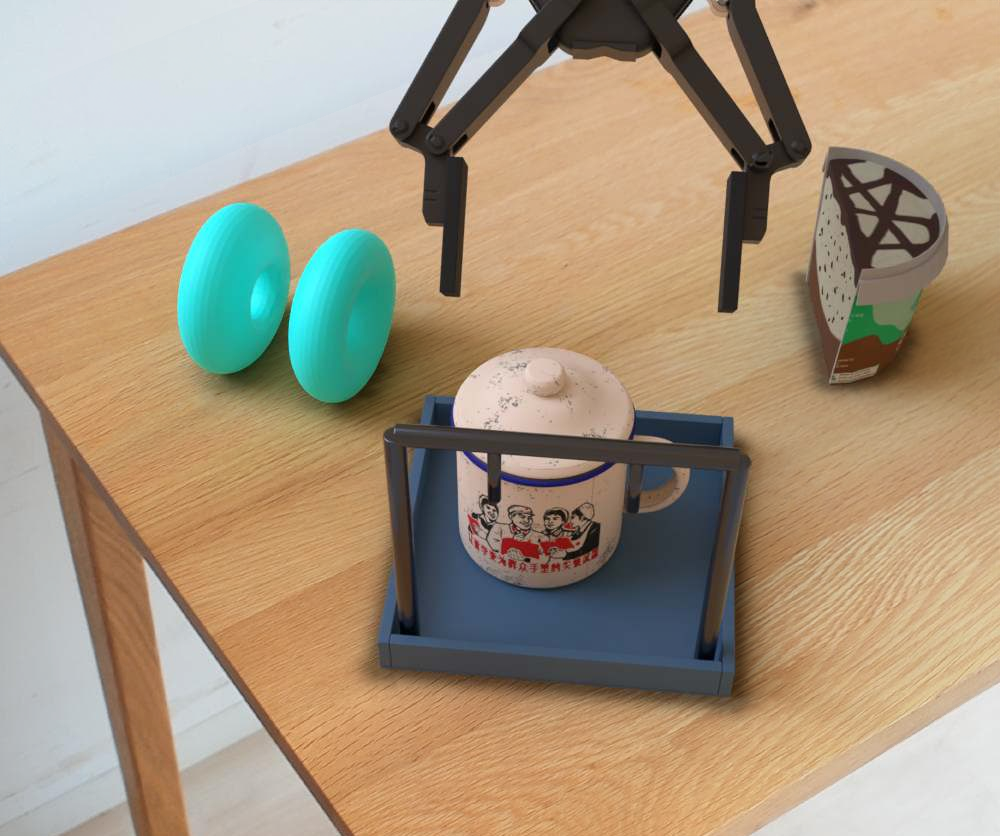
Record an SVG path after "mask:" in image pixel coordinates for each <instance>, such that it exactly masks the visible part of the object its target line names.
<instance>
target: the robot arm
mask: <svg viewBox="0 0 1000 836" xmlns="http://www.w3.org/2000/svg"><path fill="white" fill-rule="evenodd" d="M506 1H507V0H457V1H456V3H455V4H454V5H453V8H452V10H451V11H450V13H449V15H448V17H447V19H446V20H445V22H444V24H443V26H442V27H441V29H440V31H439V33H438V35H437V36H436V38H435V40H434V42H433V43H432V45H431V47H430V48H429V51H428V53H427V54H426V55H425V58H424V59H423V62H422V63H421V65H420V67H419V69H418V71H417V72H416V74H415V75H414V78H413V79H412V81H411V83H410V85H409V87H408V88H407V90H406V92H405V93H404V95H403V97H402V99H401V101H400V102H399V104H398V106H397V108H396V110H395V111H394V113H393V115H392V116H391V118H390V121H389V124H388V130H389V132H390V134H391V136H392V137H393V138H394V140H395V141H396V142H397V144H398V145H399V146H401V148H405V149H409V150H411V151H413V152H416V153H418V154H420V155H422V157H423V159H424V174H423V190H422V191H423V192H422V204H421V205H422V207H421V214H422V216H423V219H424V222H425V224H426V225H427V226H428V227H437V228H438V227H439V228H440V227H441V228H442V239H441V240H442V243H441V258H440V273H439V275H440V276H439V291H438V292H439V293H440V294H441V295H442V296H444V297H447V298H461V292H462V277H463V276H462V274H463V259H464V258H463V257H464V243H465V242H464V241H465V228H466V227H465V226H466V209H467V195H468V194H467V193H468V177H469V165H468V163H467V162H466V160H465V157H463V156H456V155H457V154H458V153H459V152H460V151H461V150H462V149H463V148H464V147H465V146H466V144H468V143H469V142H470V140H472V138H474V136H475V135H476V134H477V133H478V132H479V131H480V130H481V129H482V127H483V126H484V125H486V123H487V122H488V121H489V120H490V119H491V118H492V117H493V116H494V114H496V112H497V111H499V110H500V108H501V107H502V106H503V105H504V104H505V103H506V102H507V101H508V100H509V99H510V97H512V95H513V94H514V93H516V91H517V90H518V89H519V88H520V87H521V86H522V85H523V84H524V82H525V81H526V80H527V79H528V78H529V77H530V76H531V75H532V74H533V73H534V72H535V71H536V70H537V69H538V68H540V67H541V66H543V65H544V64H545V63H546V62H547V61H548V60H549V59H550V58H551V56H553V54H554V53H556V51H557V50H558V49H560V50H561V51H562V52H563V53H565V54H567V55H569V56H571V57H572V60H585V61H589V60H593V59H598V58H603V57H606V58H609V59H612V60H615V61H618V62H629V63H636V62H637V60H638V59H641V58H643V57H646V56H647V55H649V54H650V53H652V54H653V55H654V57H655V58H656V60H657V61H658V62H659V64H660V65H661V66H662V68H663V69H664V70H665V71H666V72H667V74H669V75H670V76H671V77H672V79H674V81H675V82H676V84H677V85H678V86H679V88H680V89H681V91H682V92H683V94H685V96H686V97H687V99H688V100H689V101H690V103H691V104H692V105H693V107H694V108H695V109H696V111H697V112H698V113H699V114H700V117H702V119H703V120H704V122H705V123H706V124H707V125H708V127H709V128H710V129H711V131H712V132H713V134H714V135H715V136H716V138H717V139H718V140H719V142H720V143H721V145H722V146H723V147H724V149H725V150H726V151H727V153H728V154H729V156H730V157H731V158H732V159H733V161H734V162H735V164H736V165H737V166H738V167H739V169H740V170H731V172H730V174H729V175H728V177H727V179H726V190H725V201H724V215H723V230H722V242H721V256H720V257H721V259H720V271H719V285H718V297H717V298H718V299H717V313H721V314H722V313H723V314H733V313H735V312H736V311H737V310H739V295H740V285H741V283H740V282H741V268H742V255H743V244H744V245H746V244H747V245H760V243H762V241H763V239H764V238H765V235H766V233H767V230H768V218H769V217H768V216H769V214H768V213H769V202H770V189H771V180H772V176H774V175H775V174H777V173H779V172H782V171H785V170H788V169H795V168H798V167H800V166H801V165H802V164H803V163H804V162H805V161H806V160H807V158H808V157H809V155H810V154H811V153H812V149H813V143H812V140H811V137H810V136H809V133H808V130H807V128H806V126H805V123H804V121H803V119H802V116H801V113H800V111H799V108H798V106H797V103H796V102H795V99H794V97H793V94H792V92H791V89H790V86H789V84H788V81H787V79H786V77H785V75H784V72H783V69H782V67H781V65H780V63H779V60H778V58H777V55H776V53H775V51H774V48H773V45H772V44H771V41H770V38H769V36H768V34H767V31H766V29H765V25H764V24H763V20H761V16H760V14H759V12H758V8H757V7H756V0H706V2H707V3H708V5H709V8H710V11H711V13H712V14H713V15H714V16H715V17H718V18H725V22H726V23H725V24H726V27H727V31H728V34H729V38H730V41H731V43H732V45H733V47H734V50H735V53H736V55H737V57H738V59H739V61H740V65H741V67H742V69H743V72H744V74H745V77H746V79H747V82H748V84H749V86H750V89H751V91H752V94H753V96H754V98H755V101H756V103H757V106H758V108H759V110H760V113H761V115H762V116H761V117H762V118H763V120H764V122H765V123H764V124H765V126H766V128H767V130H768V132H769V135H770V137H771V140H772V142H771V143H769V144H766V143H765V141H764V140H763V138H762V137H761V136H760V134H759V133H758V132H757V131H756V129H755V127H753V125H752V124H751V122H750V121H749V119H748V118H747V116H745V114H744V113H743V111H742V110H741V109H740V107H739V106H738V104H736V102H735V101H734V99H733V98H732V97H731V95H730V94H729V92H728V91H727V90H726V88H725V87H724V86H723V84H722V83H721V82H720V80H719V79H718V78H717V76H716V75H715V73H714V72H713V71H712V69H711V68H710V67H709V66H708V64H707V63H706V62H705V60H704V58H703V57H702V56H701V55H700V53H699V52H698V50H697V49H696V48H695V46H694V44H693V42H692V39H691V38H690V36H689V35H688V34H687V32H686V31H685V29H684V28H683V27H682V25H681V24H680V23H679V22H678V20H679V19H680V18H681V17H682V15H683V14H684V13H685V11H686V10H687V9H688V8H689V7H690V6H691V4H692V3H693V2H694V0H528V2H529V3H530V5H531V6H532V8H533V10H534V12H535V13H536V14H534V16H532V18H531V19H530V20H529V21H528V22H527V23H526V24H525V26H523V28H521V30H520V31H519V33H518V36H516V37H515V40H514V41H512V43H511V44H510V45H508V47H507V48H506V49H505V50H504V51H503V53H501V55H500V56H499V57H498V58H497V59H496V60H495V61H494V62H493V63H492V64H491V65H490V66H489V67H488V68H487V70H486V71H484V73H483V74H482V75H481V76H480V77H479V78H478V79H477V80H476V82H475V83H474V84H473V85H471V87H469V89H468V90H467V91H466V92H465V93H464V95H462V96H461V98H460V99H459V100H458V101H457V102H456V103H455V104H454V105H453V106H452V107H451V108H450V109H449V110H448V111H447V112H446V113H445V115H444V116H442V118H441V119H440V120H439V121H438V122H437V124H436V125H434V126H433V127H432V126H429V124H430V123H431V121H432V119H433V117H434V115H435V113H436V112H437V109H438V108H439V107H440V105H441V103H442V101H443V99H444V97H445V96H446V94H447V92H448V90H449V89H450V87H451V85H452V84H453V81H454V79H455V78H456V76H457V75H458V73H459V71H460V69H461V67H462V66H463V64H464V62H465V60H466V59H467V57H468V55H469V53H470V51H471V49H472V48H473V46H474V44H475V42H476V41H477V39H478V37H479V35H480V33H481V32H482V30H483V28H484V26H485V24H486V22H487V19H488V17H489V13H490V11H491V8H497V7H500V6H502V5H503V4H504V3H505V2H506Z"/></svg>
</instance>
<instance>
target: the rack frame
mask: <svg viewBox="0 0 1000 836" xmlns="http://www.w3.org/2000/svg"><path fill="white" fill-rule="evenodd" d="M382 442H383V443H382V444H383V454H384V467H385V476H386V488H387V500H388V501H387V502H388V511H389V512H388V513H389V523H390V534H391V545H392V547H391V548H392V556H393V557H392V558H393V559H394V570H395V581H396V593H397V604H398V615H399V627H400V635H410V636H421V634H420V620H419V605H418V591H417V577H416V562H415V548H414V534H413V519H412V505H411V491H410V465H409V464H410V463H409V449H408V448H410V449H411V448H412V449H415V448H423V449H436V450H449V451H463V452H476V453H487V493H488V501H489V502H490V503H491V504H498V503H499V502H500V501H501V454H503V455H516V456H529V457H543V458H556V459H570V460H583V461H596V462H610V463H623V464H630V465H629V475H628V485H627V495H626V506H625V510H626V512H627V513H628V514H630V515H635V514H637V513H638V511H639V506H640V497H641V487H642V478H643V469H644V465H650V466H663V467H676V468H690V469H703V470H717V471H725V477H724V483H723V489H722V495H721V500H720V506H719V512H718V518H717V524H716V530H715V535H714V541H713V547H712V553H711V559H710V564H709V570H708V576H707V582H706V588H705V593H704V599H703V605H702V611H701V617H700V623H699V628H698V634H697V640H696V646H695V652H694V657H693V659H697V660H709V661H714V658H715V653H716V648H717V643H718V638H719V632H720V627H721V622H722V617H723V611H724V606H725V601H726V596H727V590H728V585H729V580H730V575H731V569H732V564H733V559H734V560H735V554H736V549H737V542H738V537H739V532H740V527H741V522H742V518H743V517H742V516H743V511H744V506H745V501H746V496H747V490H748V485H749V479H750V474H751V470H752V469H751V468H752V464H753V462H752V459H751V457H750V456H749V455H748V454H747V453H744V452H742V450H741V447H735V446H734V447H720V446H707V445H693V444H680V443H666V442H652V441H639V440H625V439H612V438H598V437H585V436H571V435H557V434H544V433H530V432H517V431H503V430H490V429H476V428H462V427H449V426H435V425H422V424H420V423H409V422H407V423H406V422H395V424H394V425H393V426H391V427H388V428H387V429H386V430H385V431H383V434H382Z"/></svg>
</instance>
